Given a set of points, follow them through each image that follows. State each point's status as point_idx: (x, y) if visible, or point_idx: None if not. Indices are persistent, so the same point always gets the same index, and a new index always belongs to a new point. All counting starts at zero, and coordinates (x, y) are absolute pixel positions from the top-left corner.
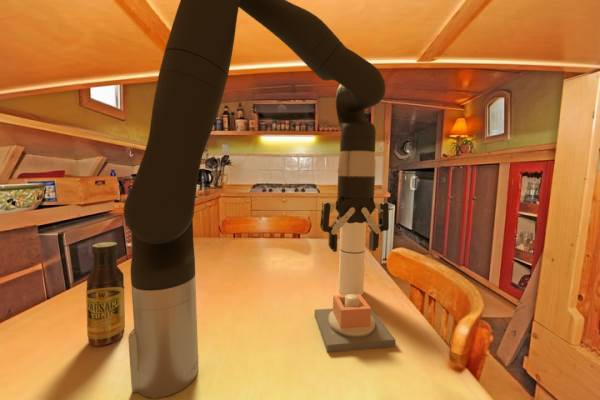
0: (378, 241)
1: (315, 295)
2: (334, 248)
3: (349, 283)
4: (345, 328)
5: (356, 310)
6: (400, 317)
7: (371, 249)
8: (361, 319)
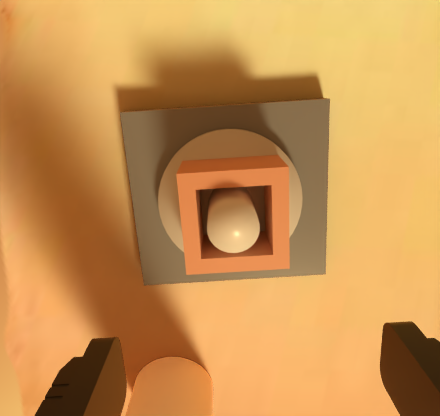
0: (46, 397)
1: (293, 370)
2: (416, 332)
3: (184, 393)
4: (263, 153)
5: (231, 169)
6: (60, 245)
7: (120, 355)
8: (211, 163)
